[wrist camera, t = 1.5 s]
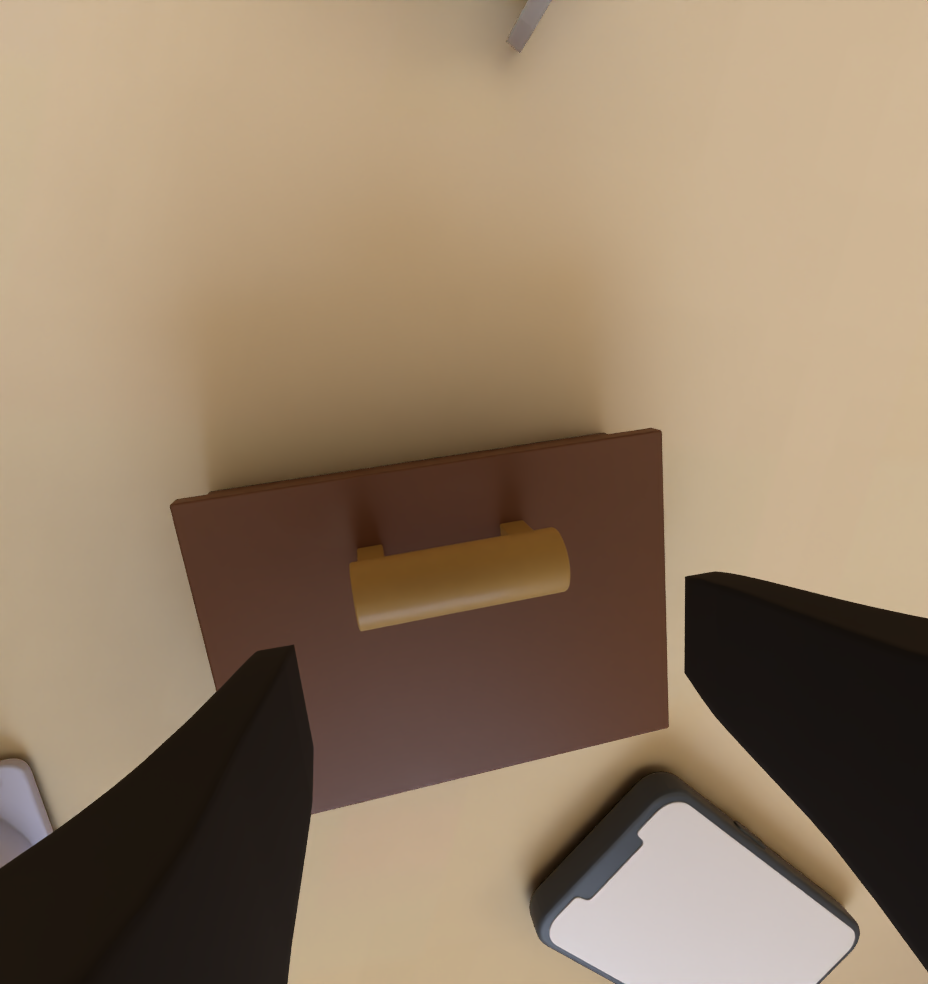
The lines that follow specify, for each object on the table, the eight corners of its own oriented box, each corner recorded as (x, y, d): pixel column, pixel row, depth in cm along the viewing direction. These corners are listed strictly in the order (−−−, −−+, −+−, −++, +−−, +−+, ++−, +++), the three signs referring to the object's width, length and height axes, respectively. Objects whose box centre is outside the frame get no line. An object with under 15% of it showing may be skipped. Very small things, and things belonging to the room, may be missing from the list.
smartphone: (846, 902, 29) (654, 751, 24) (874, 933, 28) (675, 779, 23) (725, 1025, 30) (511, 902, 25) (746, 1062, 28) (523, 939, 23)
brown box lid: (174, 498, 15) (121, 546, 11) (651, 427, 17) (733, 448, 14) (254, 814, 18) (231, 935, 14) (660, 717, 20) (731, 799, 16)
